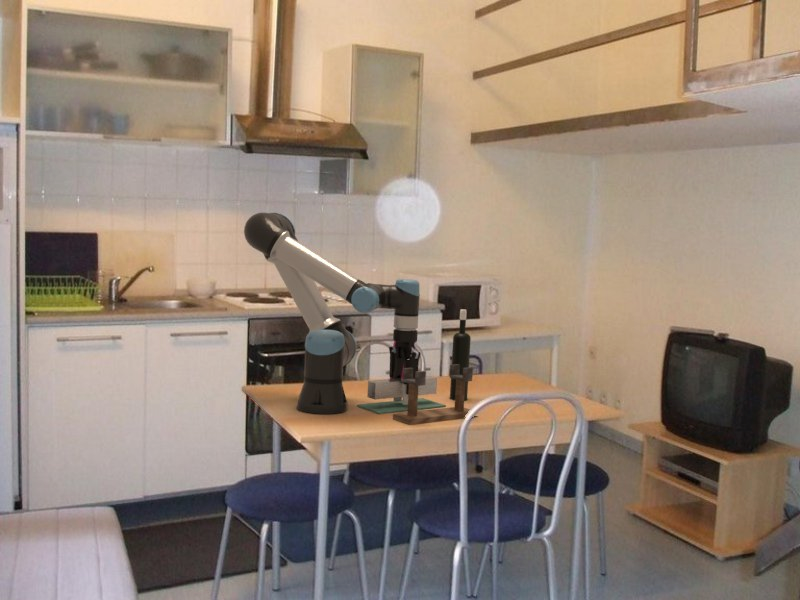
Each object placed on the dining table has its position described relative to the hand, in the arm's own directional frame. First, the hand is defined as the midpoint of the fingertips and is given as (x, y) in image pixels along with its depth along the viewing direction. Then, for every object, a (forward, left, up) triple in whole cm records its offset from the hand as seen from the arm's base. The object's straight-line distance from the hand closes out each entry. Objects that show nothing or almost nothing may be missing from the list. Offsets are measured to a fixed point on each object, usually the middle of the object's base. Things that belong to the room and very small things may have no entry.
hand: (402, 402), depth 275 cm
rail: (0, 0, +2) cm, 2 cm away
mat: (0, 0, -1) cm, 1 cm away
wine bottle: (+25, +2, -1) cm, 25 cm away
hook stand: (0, -17, -1) cm, 17 cm away
